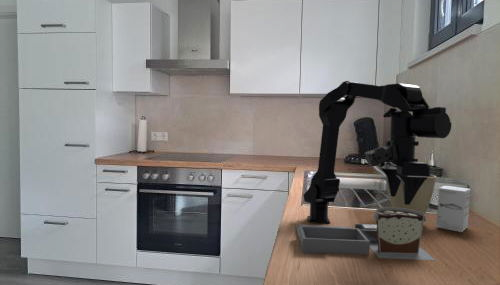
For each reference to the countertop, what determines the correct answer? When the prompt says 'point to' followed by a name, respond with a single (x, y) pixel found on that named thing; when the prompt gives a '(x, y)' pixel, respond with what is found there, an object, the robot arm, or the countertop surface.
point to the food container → (399, 230)
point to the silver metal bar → (369, 227)
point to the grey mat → (420, 256)
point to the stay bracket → (368, 233)
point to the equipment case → (332, 239)
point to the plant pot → (419, 200)
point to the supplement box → (453, 208)
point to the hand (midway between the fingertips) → (399, 200)
